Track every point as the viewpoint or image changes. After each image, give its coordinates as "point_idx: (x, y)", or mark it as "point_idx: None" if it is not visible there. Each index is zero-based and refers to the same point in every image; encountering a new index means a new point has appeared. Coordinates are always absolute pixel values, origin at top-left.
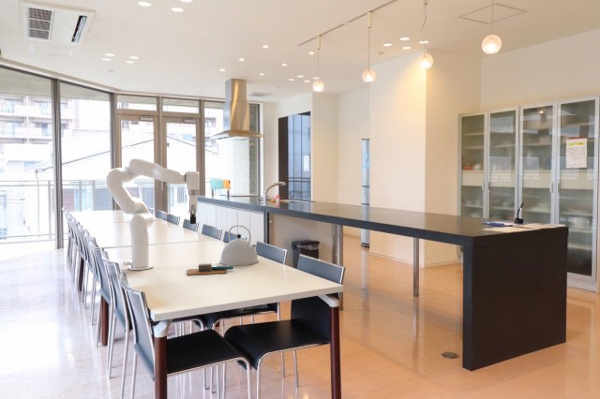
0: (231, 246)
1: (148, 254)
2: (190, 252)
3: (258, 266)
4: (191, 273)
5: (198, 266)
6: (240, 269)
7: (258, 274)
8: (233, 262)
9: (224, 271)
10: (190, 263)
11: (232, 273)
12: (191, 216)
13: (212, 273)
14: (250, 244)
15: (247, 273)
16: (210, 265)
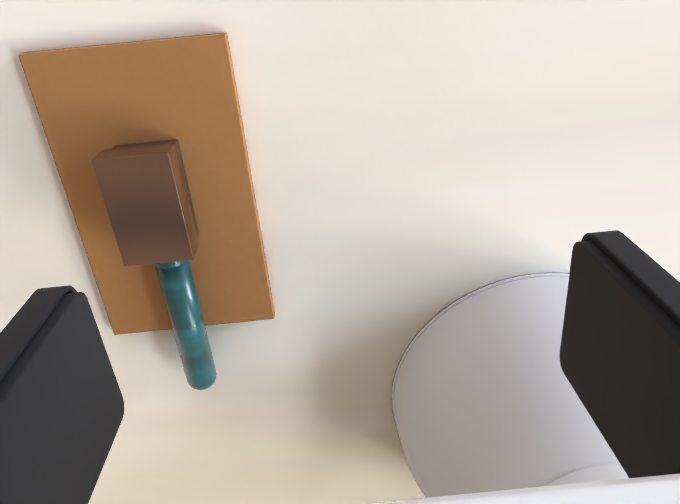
0: (494, 452)
1: None
2: None
3: (337, 486)
4: (37, 87)
5: (95, 157)
6: (253, 404)
7: (102, 489)
8: (404, 375)
9: (134, 327)
10: (580, 13)
11: (123, 366)
12: (673, 377)
13: (88, 249)
14: None
15: (127, 441)
16: (122, 257)
